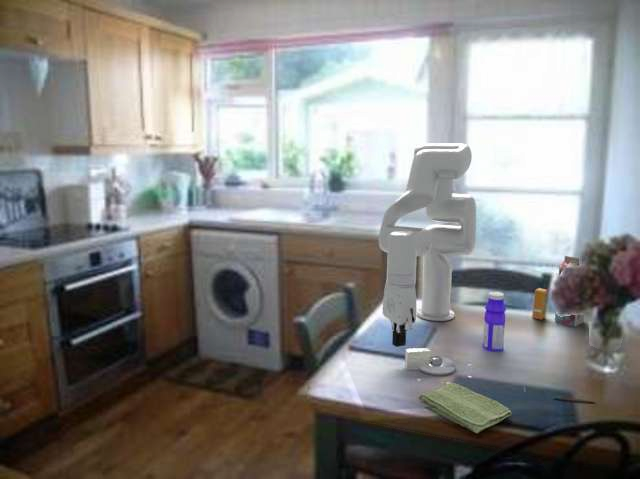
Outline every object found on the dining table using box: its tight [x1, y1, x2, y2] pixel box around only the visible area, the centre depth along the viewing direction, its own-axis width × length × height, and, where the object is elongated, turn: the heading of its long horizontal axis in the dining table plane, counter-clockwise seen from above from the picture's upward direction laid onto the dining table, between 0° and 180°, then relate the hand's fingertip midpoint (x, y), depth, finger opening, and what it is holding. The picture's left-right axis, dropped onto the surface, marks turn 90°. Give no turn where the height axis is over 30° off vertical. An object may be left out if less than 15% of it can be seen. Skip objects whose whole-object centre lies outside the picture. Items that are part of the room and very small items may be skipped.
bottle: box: [482, 291, 507, 353], centre depth 153 cm, size 7×6×17 cm
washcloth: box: [418, 382, 513, 434], centre depth 122 cm, size 13×18×3 cm
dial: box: [404, 347, 456, 376], centre depth 140 cm, size 13×10×5 cm
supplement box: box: [531, 287, 549, 321], centre depth 182 cm, size 3×3×10 cm
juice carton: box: [554, 255, 585, 327], centre depth 177 cm, size 7×7×22 cm
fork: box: [523, 386, 597, 404], centre depth 127 cm, size 3×16×2 cm, turn 75°
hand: (398, 345), depth 144 cm, fingers closed
